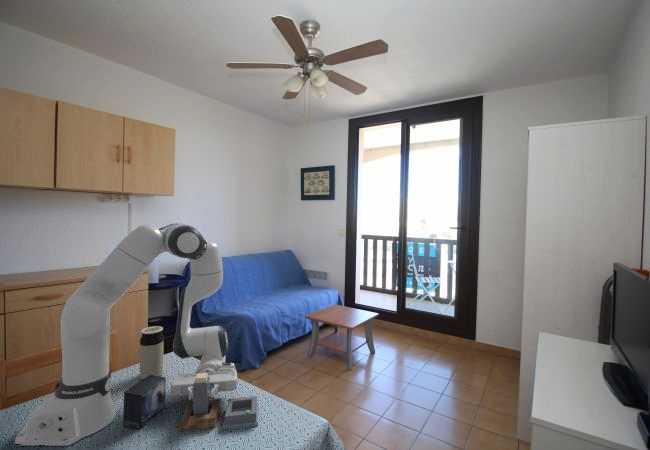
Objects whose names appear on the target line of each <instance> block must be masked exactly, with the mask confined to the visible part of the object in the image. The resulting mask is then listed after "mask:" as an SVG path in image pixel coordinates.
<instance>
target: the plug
mask: <svg viewBox="0 0 650 450" xmlns="http://www.w3.org/2000/svg"><path fill="white" fill-rule="evenodd" d="M209 390H210V377H208V373H199V374H197V376H196V378H195V382H194V384H193V400H192V402H193V416H195V415H205V414H209V403H210V400H211V398H208V392H209Z"/></svg>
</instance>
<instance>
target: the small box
mask: <svg viewBox="0 0 650 450" xmlns="http://www.w3.org/2000/svg"><path fill="white" fill-rule="evenodd" d="M166 381H167V377H166V376H162V375H161V376H154V375H149V376H148V377H146V378H144V379H140V381H138V382H137V383H135V384H134V385H132V386H131V387H128V388H127V389H126V390H124V391H123V419H122V427H124V428H125V427H126V428H130V429H131V428H132V429H135V430H141V429H142V428H144V427H145V426H146V425H147V424H149V422H151V421H152V420H153V419H154V418H155V417H157V416H158V415H159V414H161V413H162V412H163V411H164V410H165V409H166V396H167V395H166V394H167V393H166V391H167V390H166V389H167V388H166V387H167V382H166Z"/></svg>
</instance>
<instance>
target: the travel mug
mask: <svg viewBox="0 0 650 450" xmlns="http://www.w3.org/2000/svg"><path fill="white" fill-rule="evenodd" d="M163 330H164V327H163V326H160V325H159V326H158V325H157V326H156V325H155V326H153V325H152V326H148V327H145V328H143V329H141V331H140V333H141V337H140V339H139V378H140V380H143V379H144V378H146V377H148V376H149V375H154V376H161V377H162V375H163V374H164V342H165V341H164V339H165V338H164V334H163Z"/></svg>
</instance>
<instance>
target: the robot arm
mask: <svg viewBox="0 0 650 450" xmlns="http://www.w3.org/2000/svg"><path fill="white" fill-rule="evenodd" d="M163 253H169V254H171V255H173V256H176V257H178V258H181V259H187V260H188V261H189V265H190V266H189V268H190V279H189V282H188V285H187V286H184V287H183V289H182V291H181V294H180V299H179V304H178V311H177V312H178V313H177V321H176V329H175V334H174V339H173V344H172V351H173V353H174V355H175V356H177V357H178V358H180V359H181V360H183V359H188V358H193V357H197V356H199V357H200V356H202V357H201V359H200V362H199V364H198V366H197V368H196V370H195V372H191V373H189V372H188V373H181V374H179V375H177V377H175V379H174V380H173V381H172V382H171V384H170V395H171V396H173V397H174V396H188V400H189V401H190V400H191V401H193V384H194V382H195V378H196V376H197V374H199V373H208V377H210V390H209V392H208V398H210V399H214V396H215V395H217V394H218V393H219V392H220V393H222V392H231V391H235V390H237V389H238V373H237V372H238V371H237V369H236V367H235V363H234V362H228V361H227V362H226V356H227V353H228V350H229V335H228V332H227V330H226V329H225V328H224V327H222V325H214V326H206V327H205V326H204V327H195V328H194V327H193V328H192V327H191V326H190V324H191V315H192V308H193V306H194V305H195V304H196V303H199V301H202V300H204V299H206V298H208V297H211V296H212V295H214V294H216V292H218V291H219V289H221V287H222V285H223V282H224V267H223V260H222V254H221V250H220V247H219V245H218V244H217V243H216V242H214V241H211V240H206V239H205V238H204V236H203V235H202V233H201V232H200V231H199V230H198V229H197V228H195V227H193V226H191V225H189V224H186V223H170V224H168V225H165V226H162V227H161V228H157V227H155V226H153V225H149V224H141V225H139V226H137V227H136V228H134V229H133V230H132V231H131V232H130V233H129V234H127V236H125V237H124V238H123V239H122V240H121V241H120V242H119V244H117V245H116V247H115V248H114V249H113V250H112V251H111V252H110V254H109V255H108V256H107V257H106V258H105V259H104V260H103V262H101V264H100V265H99V266H98V267H96V269H95V270H94V271H93V272H92V273H91V274H90V275H89V276H88V277H87V278H86V279H85V280H84V281H83V282H82V283H81V284H80V285H79V286H78V288H76V289H75V290H74V292H73V293H72V294H71V295H70V296H69V297H68V299H67V300H66V301H65V304H64V307H63V309H62V312H61V316H60V341H61V344H60V345H61V357H62V358H61V359H62V360H61V363H62V364H61V366H62V369H61V372H62V373H61V374H62V375H61V379H59V380H58V381H56V383H55V384H54V385H53V386H51V392H54V391H55V392H54V393H53V394H52V395H50V396H49V397H48V398H47V399H46V400H44V401H43V402H42V403H41V404H39V405H38V406H37V407H36V408H35V409H34V410H33V412H32V413H31V414H30V416H29V418H28V421H27V424H26V425H25V426H24V427H23V428H22V429H21V430H20V431H19V432H18V434H17V435H16V437H15V440H14V445H15V444H21V445H20V446H39V445H42V446H43V445H45V446H48V447H49V446H53V447H55V446H58V447H59V446H60V447H62V446H63V447H64V446H71V445H72V444H74V443H76V442H78V441H80V440H81V439H84V438H85V437H88V436H90V435H93V434H95V433H97V432H99V431H101V430H102V429H104V428H106V427H107V426H109V424H111V423H112V422H113V421H114V420H115V418H116V415H117V413H116V411H115V407H114V405H113V404H114V403H113V401H112V395H111V389H112V370H111V368H110V340H111V339H110V338H111V309H112V308H113V306H114V305H115V304H116V303H117V302H118V301H119V300H120V299H121V298H122V296H123V295H125V294H126V293H127V292H128V291H129V290H130V289H132V288H133V287H134V285H135V284H136V283H137V282H138V281H139V279H140V278H141V277H142V276H143V274H144V273H145V272H146V271H147V270H148V268H149V267H150V266H151V264H153V262H154V261H155V259H156V258H158V256H160V255H161V254H163Z"/></svg>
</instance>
